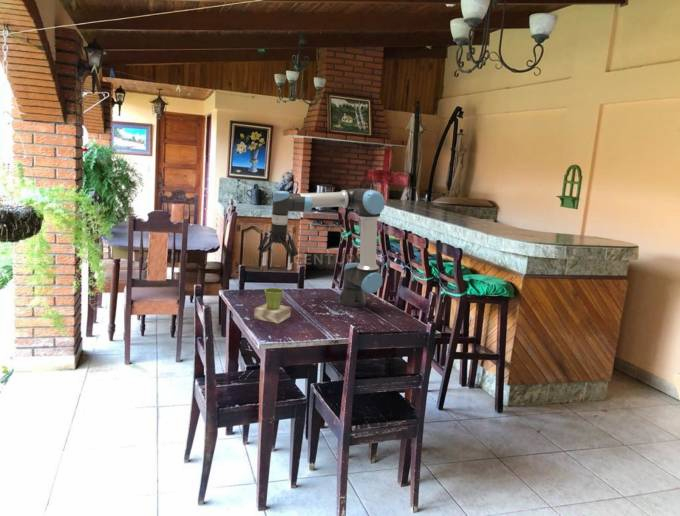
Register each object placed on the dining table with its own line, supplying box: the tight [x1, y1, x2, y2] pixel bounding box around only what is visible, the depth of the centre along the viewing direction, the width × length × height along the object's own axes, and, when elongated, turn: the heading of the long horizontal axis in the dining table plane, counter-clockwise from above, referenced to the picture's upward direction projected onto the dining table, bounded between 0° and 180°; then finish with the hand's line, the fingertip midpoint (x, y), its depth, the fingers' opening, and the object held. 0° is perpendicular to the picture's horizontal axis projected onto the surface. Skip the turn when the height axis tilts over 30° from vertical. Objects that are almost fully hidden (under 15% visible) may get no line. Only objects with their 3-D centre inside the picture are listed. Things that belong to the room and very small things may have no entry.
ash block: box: [253, 302, 292, 324], centre depth 257 cm, size 13×13×5 cm
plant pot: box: [264, 287, 285, 309], centre depth 256 cm, size 9×9×9 cm
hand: (276, 267), depth 255 cm, fingers open, 13 cm apart
